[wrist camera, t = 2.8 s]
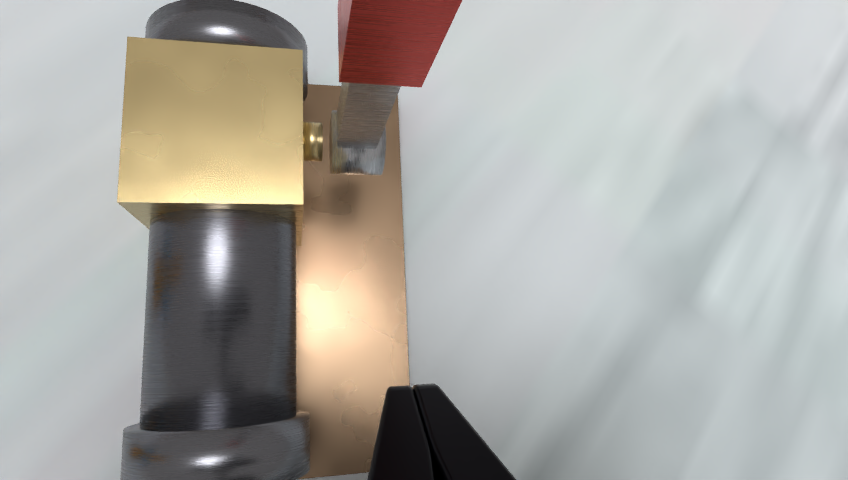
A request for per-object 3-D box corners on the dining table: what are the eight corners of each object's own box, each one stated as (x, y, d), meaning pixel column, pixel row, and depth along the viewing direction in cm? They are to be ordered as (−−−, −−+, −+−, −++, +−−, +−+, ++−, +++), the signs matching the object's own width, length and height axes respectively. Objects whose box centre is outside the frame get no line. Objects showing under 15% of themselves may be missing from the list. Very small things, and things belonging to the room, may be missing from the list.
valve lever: (377, 183, 19) (508, -92, 7) (323, 182, 18) (371, -111, 7) (376, 127, 19) (497, -218, 8) (323, 125, 19) (366, -244, 7)
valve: (407, 462, 22) (460, 513, 15) (159, 486, 20) (85, 559, 13) (393, 99, 25) (431, 0, 18) (176, 87, 23) (124, -31, 16)
